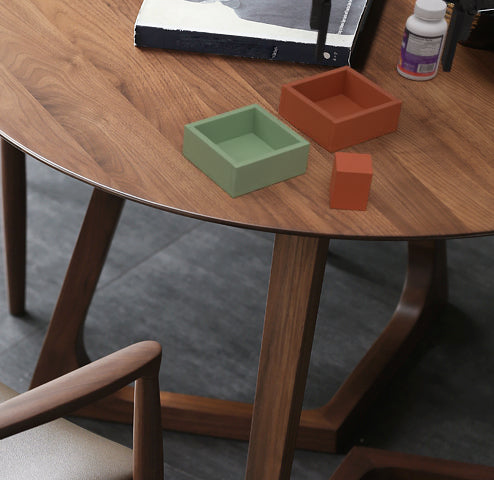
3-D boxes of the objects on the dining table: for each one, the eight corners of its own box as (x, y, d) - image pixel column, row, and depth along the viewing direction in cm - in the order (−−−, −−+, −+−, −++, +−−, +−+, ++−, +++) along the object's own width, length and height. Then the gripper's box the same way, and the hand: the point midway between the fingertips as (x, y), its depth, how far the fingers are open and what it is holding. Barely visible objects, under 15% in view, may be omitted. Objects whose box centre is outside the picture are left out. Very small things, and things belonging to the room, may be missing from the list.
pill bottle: (404, 58, 149) (418, -9, 143) (441, 69, 147) (458, 1, 141) (390, 74, 146) (404, 6, 139) (428, 85, 144) (444, 16, 137)
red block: (363, 191, 125) (370, 154, 122) (365, 210, 122) (373, 173, 119) (328, 188, 125) (335, 151, 122) (330, 208, 123) (336, 170, 119)
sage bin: (305, 173, 128) (310, 143, 125) (233, 198, 124) (236, 167, 121) (253, 132, 134) (256, 102, 131) (182, 154, 130) (184, 124, 127)
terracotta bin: (396, 130, 135) (402, 101, 132) (330, 153, 131) (335, 123, 128) (342, 93, 142) (347, 65, 139) (278, 114, 138) (281, 85, 135)
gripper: (550, -150, 104) (494, 53, 119) (291, -166, 106) (267, 37, 120) (563, -123, 99) (503, 87, 113) (290, -140, 100) (265, 69, 115)
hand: (381, 61), depth 117 cm, fingers open, 13 cm apart
